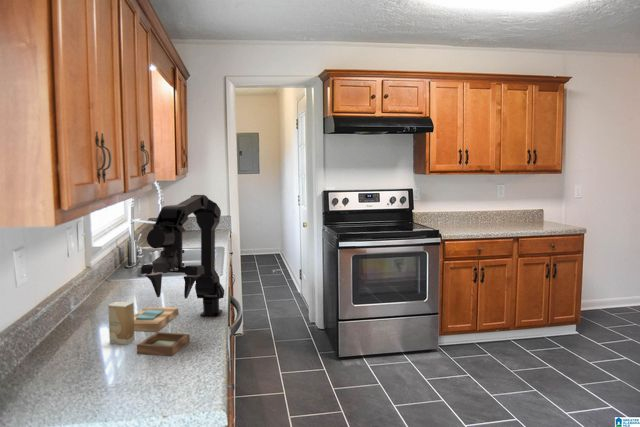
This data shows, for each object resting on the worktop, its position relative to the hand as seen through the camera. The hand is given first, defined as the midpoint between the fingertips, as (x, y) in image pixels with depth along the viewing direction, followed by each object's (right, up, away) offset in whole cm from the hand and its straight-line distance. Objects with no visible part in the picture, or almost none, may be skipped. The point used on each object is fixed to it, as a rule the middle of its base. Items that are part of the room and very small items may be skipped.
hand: (172, 297), depth 157 cm
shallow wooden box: (-13, -12, +21) cm, 27 cm away
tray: (-1, -14, -4) cm, 15 cm away
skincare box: (-16, -14, +2) cm, 21 cm away
